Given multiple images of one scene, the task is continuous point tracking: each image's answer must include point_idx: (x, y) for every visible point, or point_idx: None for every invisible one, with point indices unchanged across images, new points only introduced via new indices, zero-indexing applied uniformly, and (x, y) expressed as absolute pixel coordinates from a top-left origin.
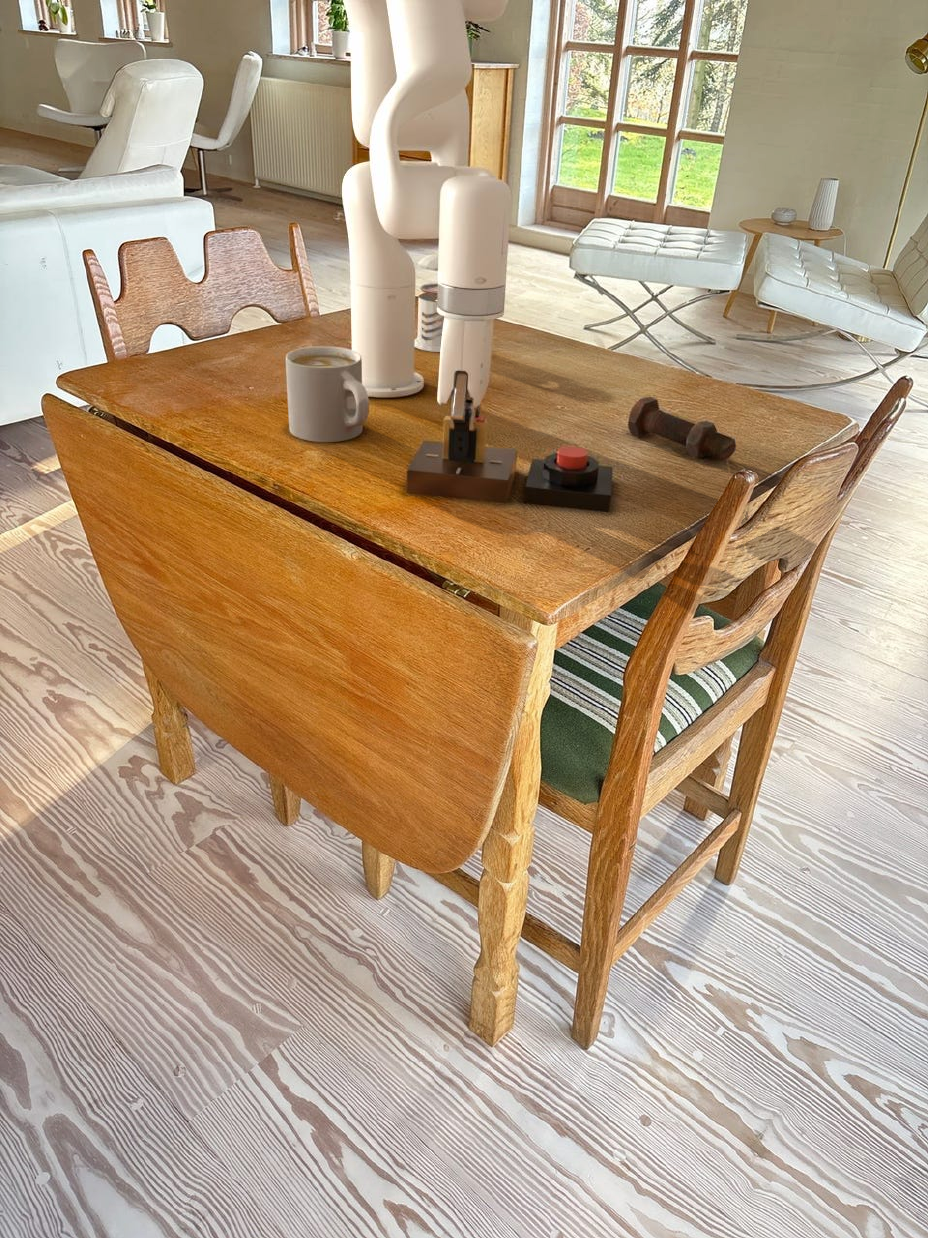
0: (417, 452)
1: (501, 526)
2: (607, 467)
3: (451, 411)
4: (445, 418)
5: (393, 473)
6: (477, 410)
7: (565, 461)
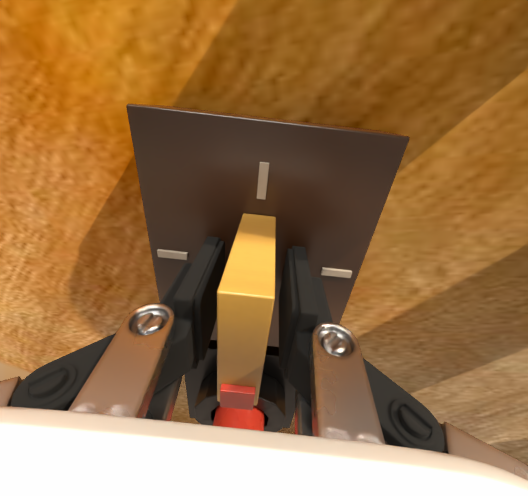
0: (287, 126)
1: (97, 292)
2: (284, 424)
3: (84, 388)
4: (230, 297)
5: (294, 38)
6: (295, 408)
7: (214, 422)
